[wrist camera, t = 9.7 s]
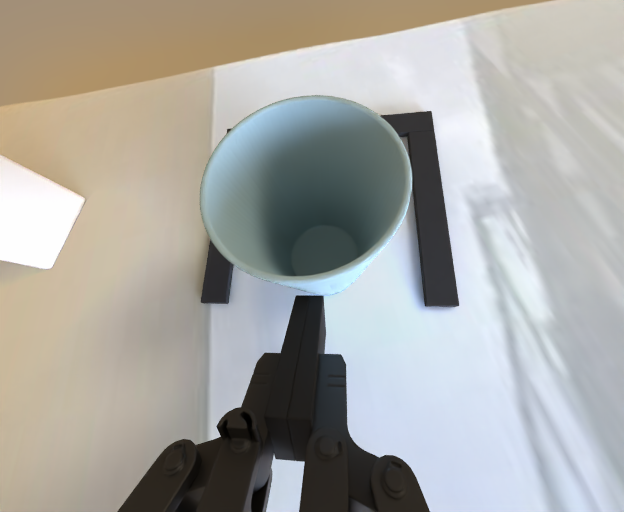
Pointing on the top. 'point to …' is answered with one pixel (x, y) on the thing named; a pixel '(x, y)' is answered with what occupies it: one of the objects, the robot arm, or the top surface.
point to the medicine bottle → (33, 216)
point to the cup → (306, 192)
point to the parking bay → (427, 210)
